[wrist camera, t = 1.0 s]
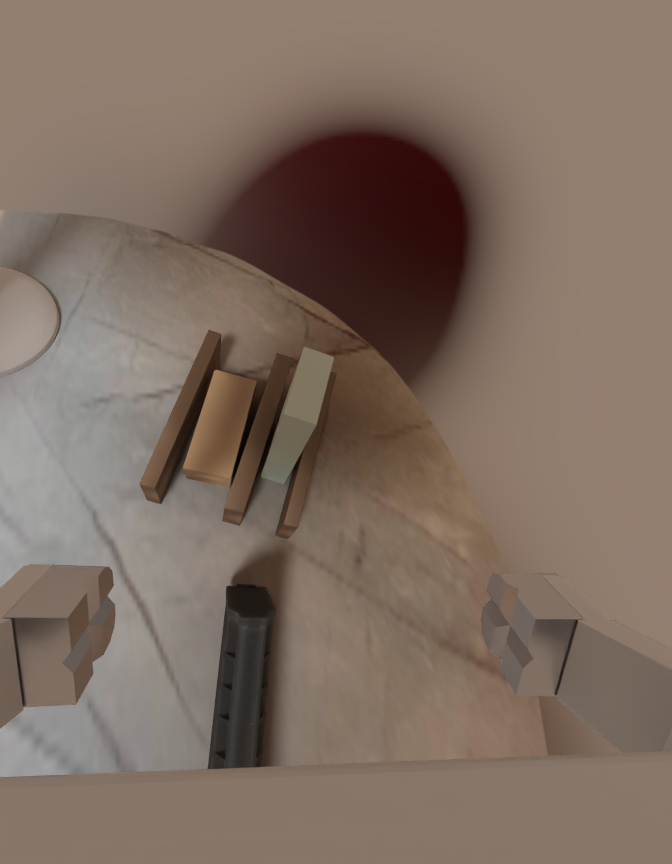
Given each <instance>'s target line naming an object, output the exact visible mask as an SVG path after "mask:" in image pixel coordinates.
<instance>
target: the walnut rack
mask: <svg viewBox="0 0 672 864" xmlns="http://www.w3.org/2000/svg"><path fill="white" fill-rule="evenodd" d="M220 346H221V334H220V333H217V332H214V331H211V330H208V333H207V335H206V337H205V339H204V342H203V344H202V346H201V348H200V350H199V353H198V355H197V357H196V359H195V362H194V364H193V366H192V368H191V370H190V373H189V375H188V377H187V379H186V381H185V384H184V386H183V388H182V390H181V393H180V395H179V397H178V399H177V401H176V404H175V406H174V408H173V410H172V413H171V415H170V417H169V419H168V421H167V424H166V426H165V428H164V430H163V433H162V435H161V437H160V439H159V441H158V444H157V446H156V448H155V450H154V452H153V455H152V457H151V459H150V461H149V464H148V466H147V468H146V470H145V472H144V475H143V477H142V479H141V481H140V486H141V488H142V490H143V492H144V494H145V497H146V499H147V500H148V501H152V502H155V503H159V504H161V502H162V500H163V497H164V495H165V492H166V490H167V488H168V485H169V483H170V480H171V478H172V476H173V473H174V471H175V468H176V466H177V464H178V461H179V459H180V456H181V454H182V452H183V449H184V447H185V444H186V442H187V440H188V437H189V435H190V432H191V430H192V428H193V425H194V423H195V420H196V418H197V416H198V413H199V411H200V408H201V406H202V404H203V401H204V399H205V396H206V394H207V391H208V389H209V386H210V383H211V380H212V377H213V373H214V370H217V367H218V365H219V363H220ZM292 359H293V358H290V357H287V356H284V355H281V354H278V353H277V355H276V358H275V361H274V364H273V367H272V370H271V373H270V376H269V379H268V382H267V384H266V387H265V390H264V393H263V396H262V399H261V402H260V405H259V408H258V411H257V414H256V417H255V420H254V423H253V425H252V428H251V431H250V434H249V437H248V440H247V443H246V446H245V449H244V452H243V455H242V458H241V461H240V464H239V466H238V469H237V472H236V475H235V478H234V481H233V484H232V487H231V490H230V493H229V496H228V499H227V502H226V505H225V508H224V514H223V520H222V521H225V522H228V523H232V524H236V525H239V526H240V523H241V520H242V517H243V514H244V511H245V507H246V504H247V501H248V498H249V495H250V492H251V489H252V485H253V482H254V479H255V476H256V473H257V470H258V467H259V463H260V460H261V457H262V454H263V451H264V448H265V444H266V441H267V438H268V435H269V432H270V429H271V426H272V422H273V419H274V416H275V413H276V410H277V407H278V403H279V400H280V397H281V394H282V391H283V388H284V385H285V381H286V378H287V375H288V372H289V369H290V366H291V363H292ZM336 374H337V373H334V372H331V371H330V375H329V379H328V383H327V387H326V391H325V394H324V398H323V402H322V406H321V410H320V414H319V417H318V421H317V425H316V427H315V429H314V430H313V432H312V434H311V436H310V438H309V440H308V441H307V443H306V445H305V447H304V449H303V450H302V452H301V454H300V456H299V458H298V460H297V461H296V463H295V465H294V469H293V473H292V476H291V480H290V484H289V487H288V491H287V494H286V498H285V502H284V505H283V509H282V513H281V516H280V520H279V524H278V527H277V531H276V536H279V537H283V538H287V539H288V538H289V537H290V536H291V535H292V533H293V532H294V531H295V530H296V529H297V528H298V525H299V521H300V517H301V513H302V509H303V505H304V501H305V497H306V493H307V489H308V485H309V481H310V477H311V473H312V469H313V465H314V462H315V458H316V454H317V450H318V446H319V442H320V438H321V434H322V430H323V426H324V422H325V418H326V414H327V410H328V406H329V402H330V398H331V394H332V390H333V386H334V382H335V378H336Z"/></svg>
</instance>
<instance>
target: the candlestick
mask: <svg viewBox="0 0 672 864" xmlns="http://www.w3.org/2000/svg"><path fill="white" fill-rule="evenodd" d="M58 328H59V313H58V309H57V306H56V304H55V302H54V300H53V298H52V296H51V295H50V293H49V292H48V291H47V290H46V289H45V288H44V287H43V286H42V285H41V284H40V283H39V282H37V281H36V280H35V279H33V278H31V277H30V276H28V275H26V274H24V273H22V272H19V271H16V270H14V269H10V268H6V267H1V266H0V377H1V376H4V375H7V374H10V373H13V372H16V371H18V370H20V369H22V368H24V367H26V366H28V365H29V364H31V363H33V362H34V361H35V360H37V359H38V358H39V357H40V356H42V355H43V354H44V353H45V352H46V351H47V349H48V348H49V347H50V346H51V344H52V343H53V341H54V339H55V337H56V335H57V332H58Z"/></svg>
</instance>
